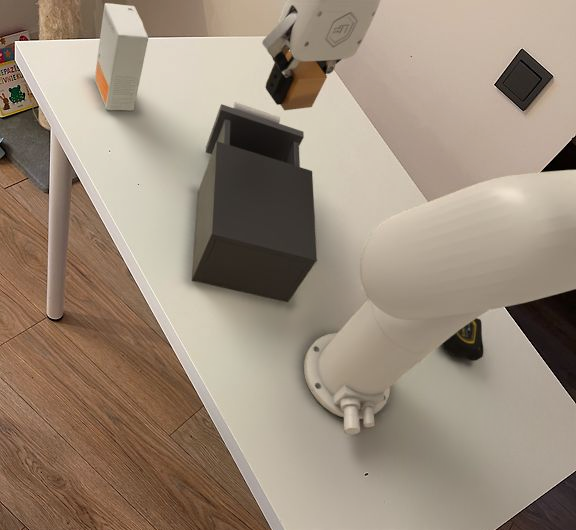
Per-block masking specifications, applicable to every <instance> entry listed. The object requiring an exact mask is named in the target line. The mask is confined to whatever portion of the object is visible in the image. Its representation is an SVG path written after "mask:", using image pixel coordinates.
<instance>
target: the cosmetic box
mask: <svg viewBox="0 0 576 530" xmlns="http://www.w3.org/2000/svg"><path fill="white" fill-rule="evenodd" d="M102 12H103V13H102V21H101V28H100V36H99V42H98V51H97V57H96V64H95V71H94V79H93V80H94V83H95V84H96V87H97V89H98V91H99V94H100V96H101V99H102V102H103V104H104V107H105V110H106V111H134V110H135V107H136V101H137V97H138V92H139V86H140V82H141V75H142V71H143V66H144V62H145V57H146V52H147V47H148V42H149V36H148V33H147V31H146V28H145V25H144V23H143V20H142V19H141V17H140V15H139V13H138V11H137V9H136V7H135V6H134V5H129V4H128V5H126V4H119V3H110V2H106V3H104V6H103V11H102Z"/></svg>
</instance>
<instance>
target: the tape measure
mask: <svg viewBox="0 0 576 530" xmlns="http://www.w3.org/2000/svg"><path fill="white" fill-rule="evenodd" d="M441 345H442V346H443V348H444V349H445V350H446V351H447V353H449V354H451V356H454V357H456V358H460V359H467V360H469V361H473V362H475V361H476V362H477V361H479V360H480V359H482V358H483V356H484V343H483V328H482V319H480V318H479V317H478V318H476V319H475V320H473V321H472V322H470V323H469V324H467V325H466V326H464V327H463V328H462V329H460V330H459V331H458V332H456V333H455V334H454V335H452V336H451V337H450V338H449V339H447V340H446V341H445V342H444V343H443V344H441Z"/></svg>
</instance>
